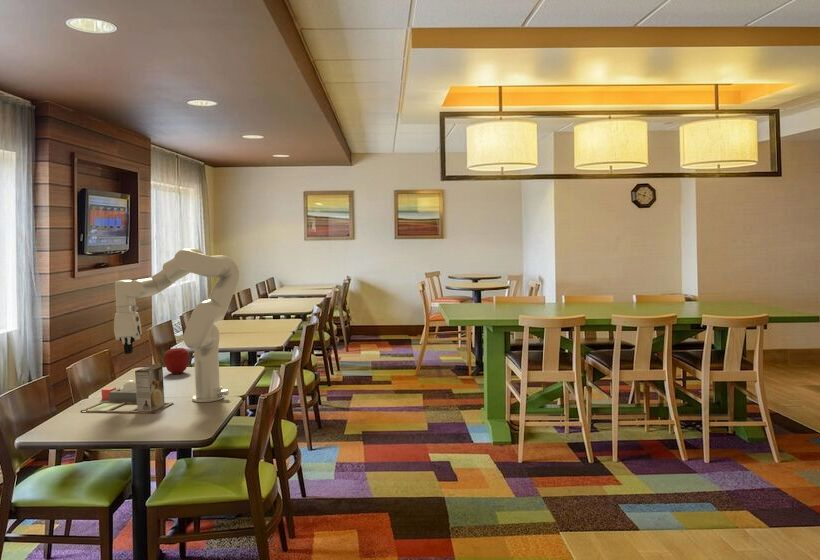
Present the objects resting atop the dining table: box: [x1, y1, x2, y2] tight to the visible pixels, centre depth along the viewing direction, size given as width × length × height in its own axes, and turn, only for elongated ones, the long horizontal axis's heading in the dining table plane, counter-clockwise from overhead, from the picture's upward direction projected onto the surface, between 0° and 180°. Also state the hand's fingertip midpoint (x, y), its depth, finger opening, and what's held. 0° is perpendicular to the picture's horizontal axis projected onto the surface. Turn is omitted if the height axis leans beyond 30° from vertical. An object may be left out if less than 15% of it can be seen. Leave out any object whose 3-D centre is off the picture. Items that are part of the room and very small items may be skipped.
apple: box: [163, 347, 190, 375], centre depth 323 cm, size 12×12×13 cm
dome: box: [119, 379, 136, 392], centre depth 274 cm, size 8×8×6 cm
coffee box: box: [134, 365, 166, 411], centre depth 256 cm, size 9×6×16 cm
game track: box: [80, 401, 174, 415], centre depth 258 cm, size 31×14×1 cm, turn 81°
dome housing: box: [108, 387, 137, 402], centre depth 274 cm, size 12×12×4 cm
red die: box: [101, 386, 117, 400], centre depth 276 cm, size 4×4×4 cm
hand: (128, 353), depth 273 cm, fingers closed
